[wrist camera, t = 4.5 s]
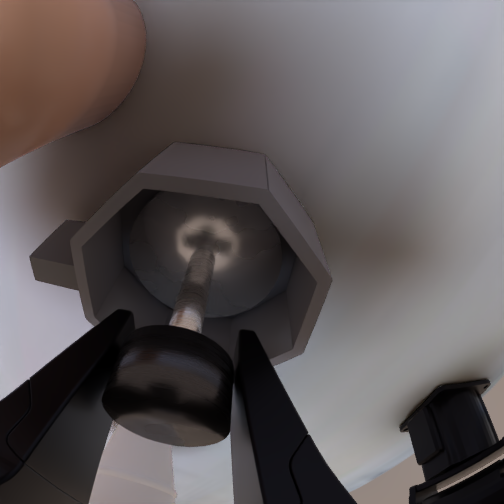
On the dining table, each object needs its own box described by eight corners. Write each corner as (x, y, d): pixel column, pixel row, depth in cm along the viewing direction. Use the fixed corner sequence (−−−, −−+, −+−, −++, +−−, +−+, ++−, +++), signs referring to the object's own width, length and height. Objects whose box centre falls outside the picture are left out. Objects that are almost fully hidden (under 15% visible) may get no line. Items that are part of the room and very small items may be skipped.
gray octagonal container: (327, 166, 10) (357, 206, 7) (282, 325, 14) (287, 388, 11) (69, 136, 10) (10, 164, 7) (85, 292, 14) (54, 345, 10)
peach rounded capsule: (160, -24, 7) (72, -94, 2) (136, 133, 10) (32, 196, 5) (28, 0, 6) (-81, -4, 1) (16, 132, 9) (-90, 186, 4)
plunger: (296, 193, 10) (342, 358, 4) (265, 316, 13) (268, 471, 7) (134, 170, 10) (8, 299, 4) (137, 296, 13) (81, 437, 7)
